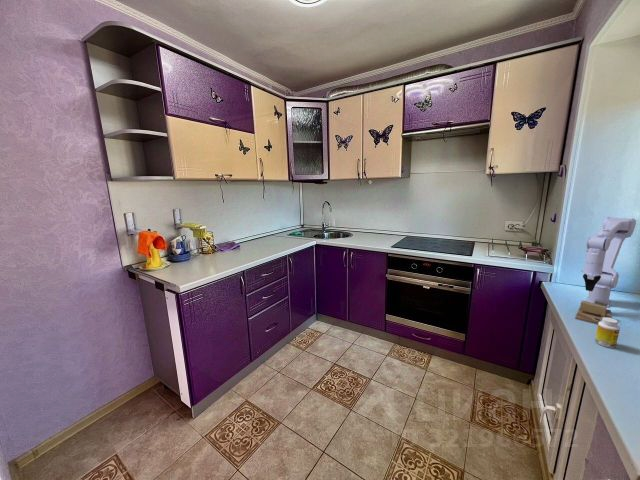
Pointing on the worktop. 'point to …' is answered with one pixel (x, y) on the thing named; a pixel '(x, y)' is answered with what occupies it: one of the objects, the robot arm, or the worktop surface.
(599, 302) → the grey piece
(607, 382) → the worktop surface
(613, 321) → the supplement bottle
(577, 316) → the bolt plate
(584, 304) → the divider leg
